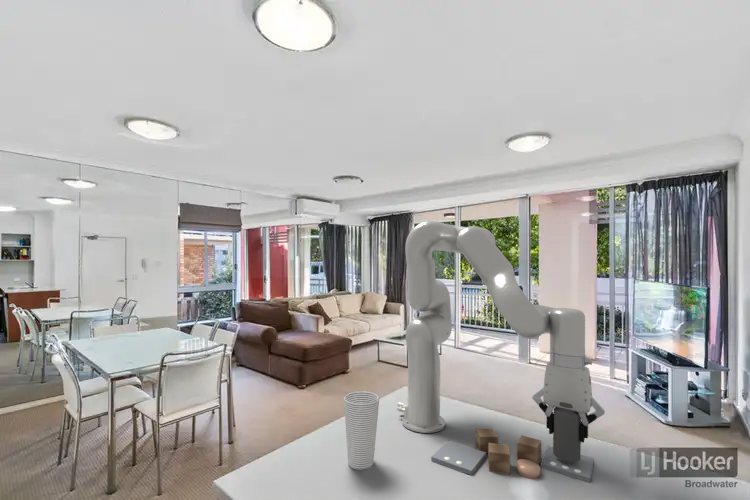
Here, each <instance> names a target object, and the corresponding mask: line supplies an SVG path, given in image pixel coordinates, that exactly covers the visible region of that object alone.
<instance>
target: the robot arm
mask: <svg viewBox="0 0 750 500" xmlns="http://www.w3.org/2000/svg"><path fill="white" fill-rule="evenodd" d="M404 247H405V261H406V280H407V281H406V282H407V283H406V284H407V299H408V304H409V306H410V307H411V309H413V310H414V311H417V312H419V313H422V316H418V317H415V318H413V319H412V320H411V321H410V322H409V323H408V325H407V326H406V329H405V343H406V347H407V348H406V349H407V404H406V403H405V402H401V401H399V402H398V403H397V408H396V410H397V412H399V413H403V416H402V420H401V421H402V422H401V423H402V425H403V426H404V427H405V428H406V429H408V430H410V431H413V432H416V433H423V434H433V433H437V432H440V431H443V430H444V428H445V427H446V420H445V419H444V418H443V416H441V358H440V353H439V347H438V345H441V344H443V343H445V342H446V341H447V340H448V339H449V338H450V336H451V334H452V328H453V327H452V326H453V325H452V308H451V307H452V306H451V296H450V295H451V294H450V292H449V289H448V287H447V285H446V284H445V283H444V282H442V281H441V280H439V279H436V277H437V276H436V265H435V260H434V257H433V252H434V251H439V252H440V251H441V252H447V253H448V252H449V253H453V254H454V253H455V254H462V255H463V257H464V258H465V259H466V260H467V262H468V263H469V264H470V266H471V267H472V268H473V270H474V271H475V272H476V274H477V276H479V277H480V279H481V280H482V282H483V283H484V285H485V287H486V289H487V292H488V293H489V295H490V297H491V300H492V301H493V303H494V305H495V307H496V309H497V310H498V311H499V313H500V315H502V317H503V319H504V320H505V321H506V322H507V324H508V325H509V326H510V328H511V329H512V330H513V332H514V333H516V334H517V335H518V336H519V337H522V338H524V339H528V340H533V339H534V340H535V339H536V338H540V336H542V335H545V334H549V361H547V363H546V367H545V372H544V379H543V387H542V388H541V389H539V390H538V391H537V392H536V393H534V394H533V395H532V400H533V401H534V402H535V403H536V405H538V407H539V408H540V410H541V411H542V412H543V413H544V416H545V417H546V429H548V435H553V418H554V408H555V407H558V408H565V409H569V410H572V411H575V412H578V413H579V415H580V418H581V424H580V441H581V444H582V443H585V439H588V438H589V425H590V424H591V423H593V422H595V421H596V420H597V419H599V418H600V417H602V416H604V415H605V411H606V410H605V409H604V407H602V406H601V405H600V404H599V403H598V401H597V400H596V399H595V398H594V397H593V392H592V390H593V389H592V387H593V386H592V377H591V373H590V369H589V367H587V366H589V365H591V366H592V365H593V359H592V358H589V357H587V356H586V315H585V313H584V311H583V310H580V309H578V308H577V309H576V308H569V307H568V308H567V307H557V308H556V307H550V306H545V305H541V304H532V302H531V301H530V300H529V298H528V297H527V296H526V295H525V293H524V292H523V289H521V287H520V286H519V284H518V282H517V279H516V275H515V270H514V268H513V267H514V266H513V265H512V263H510V261H509V260H508V259H507V258H506V256H505V255H504V254H503V252H502V251H501V250H500V248H498V246H497V245H496V238H495V236H494V235H493V232H491V231H490V230H488V229H487V228H483V227H481V226H477V225H475V226H474V225H472V226H471V225H470V226H460V225H456V224H455V225H454V224H453V225H452V224H449V223H445V222H444V223H443V222H440V221H435V220H428V221H423V222H420V223H418V224H417V225H415V226H414V227H413V228H412V229H411V231H410V232H409V233H408V235H407V237H406V241H405V246H404ZM542 397H543V398H542ZM560 402H564V403H568V404H571V405H572V406H573V408H566V407H562V406H560V405H559V404H560ZM591 408H593V409H594V411H593V412H591ZM590 412H591V413H590ZM588 413H590V414H588Z"/></svg>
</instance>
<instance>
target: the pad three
mask: <svg viewBox="0 0 750 500" xmlns="http://www.w3.org/2000/svg"><path fill="white" fill-rule="evenodd" d="M594 463H595V458H594V457H590V456H586V455H582V454H581V457H580V461H578V462H568V461H564V460H561V459H559V458H557V457H556V456H555V455H554V453H553V446H550V445H549V446H548V447H547V449H546V451H545V453H544V455H543V457H542V458H541V461H540V469H541V468H542V469H545V470H547V471H552V472H554V473H558V474H561V475H565V476H568V477H571V478H574V479H577V480H580V481H584V482H588V483H591V479H592V474H593V469H594Z"/></svg>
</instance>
